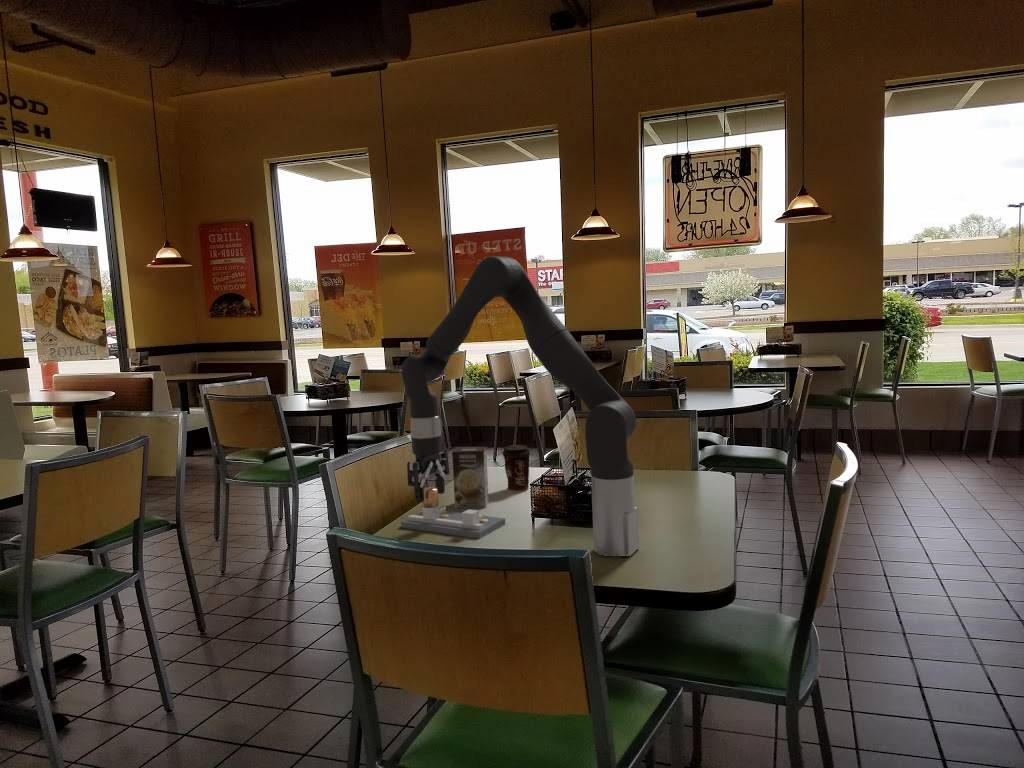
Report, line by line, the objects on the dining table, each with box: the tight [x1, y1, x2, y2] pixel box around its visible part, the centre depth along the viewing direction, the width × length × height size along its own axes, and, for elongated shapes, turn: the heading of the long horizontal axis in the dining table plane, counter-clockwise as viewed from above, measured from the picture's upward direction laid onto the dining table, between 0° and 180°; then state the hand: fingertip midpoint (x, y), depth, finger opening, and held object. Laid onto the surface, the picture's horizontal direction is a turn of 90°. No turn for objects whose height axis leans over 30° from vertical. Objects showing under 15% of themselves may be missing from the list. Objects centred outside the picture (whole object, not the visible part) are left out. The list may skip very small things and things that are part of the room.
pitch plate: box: [400, 509, 506, 539], centre depth 185 cm, size 24×12×6 cm, turn 60°
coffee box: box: [451, 446, 490, 509], centre depth 203 cm, size 9×6×16 cm
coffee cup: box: [502, 444, 531, 493], centre depth 217 cm, size 9×8×13 cm
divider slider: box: [422, 486, 447, 520], centre depth 185 cm, size 4×8×8 cm, turn 150°
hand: (430, 497), depth 183 cm, fingers open, 8 cm apart
